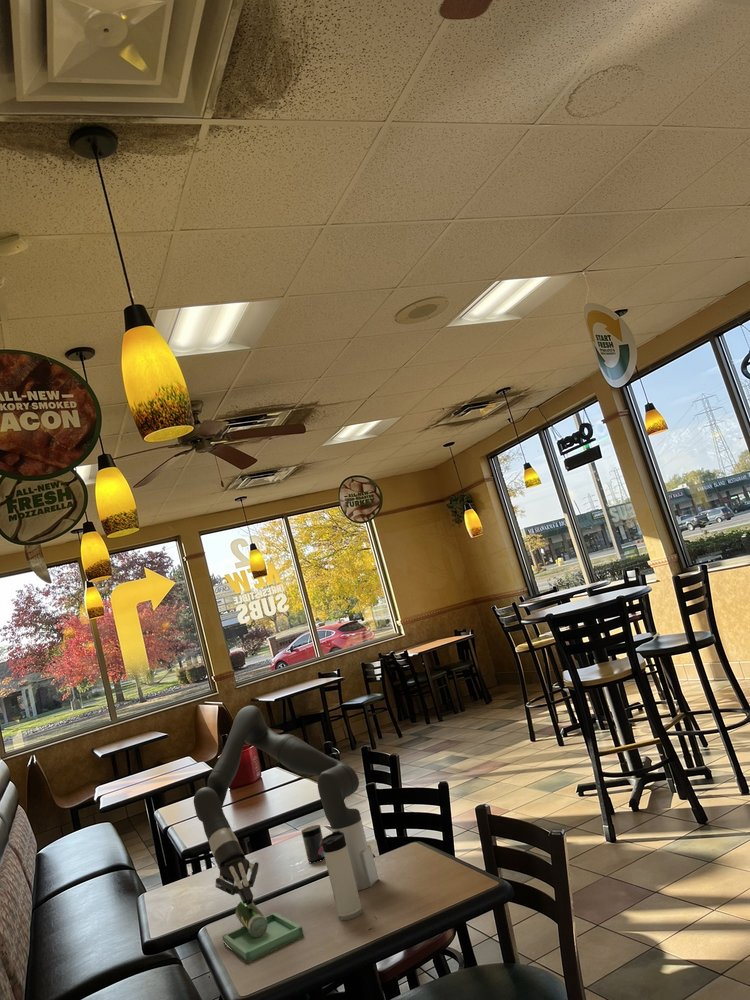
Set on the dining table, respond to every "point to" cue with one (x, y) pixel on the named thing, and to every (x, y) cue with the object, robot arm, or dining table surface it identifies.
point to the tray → (263, 938)
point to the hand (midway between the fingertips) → (249, 902)
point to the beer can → (251, 919)
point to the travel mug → (341, 876)
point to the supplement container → (313, 843)
